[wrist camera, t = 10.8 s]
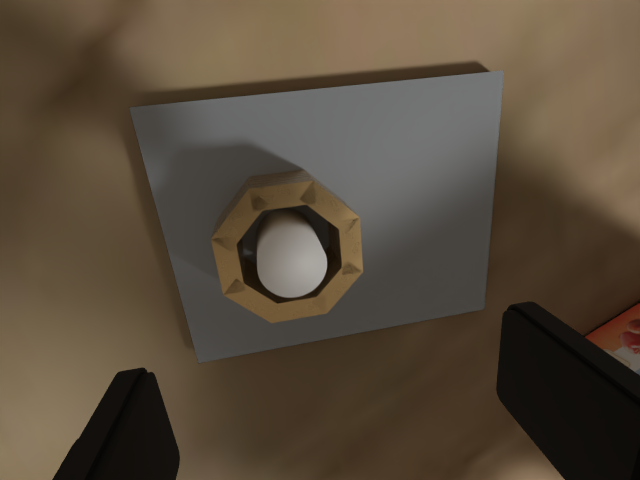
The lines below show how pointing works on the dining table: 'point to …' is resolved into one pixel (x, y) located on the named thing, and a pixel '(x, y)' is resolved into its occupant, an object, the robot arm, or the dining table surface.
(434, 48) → the dining table surface
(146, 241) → the dining table surface
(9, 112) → the dining table surface
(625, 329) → the cracker box
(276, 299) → the ring
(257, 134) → the base
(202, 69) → the dining table surface
